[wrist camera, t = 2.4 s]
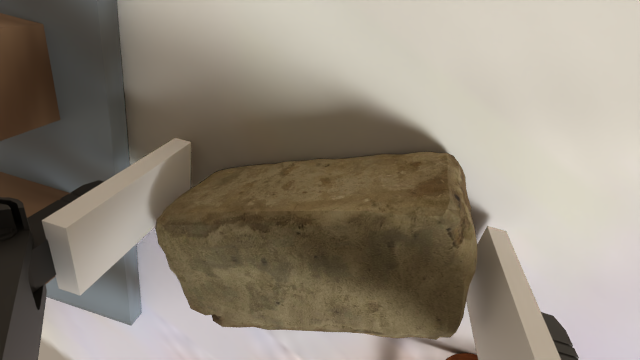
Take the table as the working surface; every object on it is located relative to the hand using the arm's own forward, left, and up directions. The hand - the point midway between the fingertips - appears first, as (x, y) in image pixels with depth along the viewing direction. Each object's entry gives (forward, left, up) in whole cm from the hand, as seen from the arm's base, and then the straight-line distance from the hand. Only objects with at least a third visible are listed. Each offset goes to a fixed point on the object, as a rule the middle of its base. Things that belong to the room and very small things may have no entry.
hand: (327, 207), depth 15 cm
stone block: (-1, 0, -1) cm, 1 cm away
